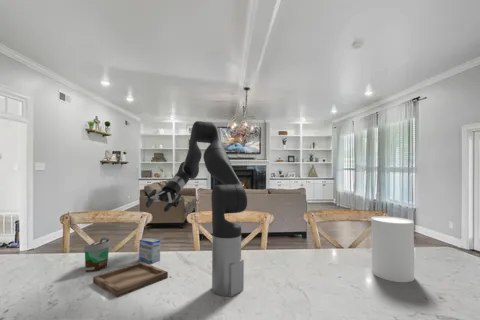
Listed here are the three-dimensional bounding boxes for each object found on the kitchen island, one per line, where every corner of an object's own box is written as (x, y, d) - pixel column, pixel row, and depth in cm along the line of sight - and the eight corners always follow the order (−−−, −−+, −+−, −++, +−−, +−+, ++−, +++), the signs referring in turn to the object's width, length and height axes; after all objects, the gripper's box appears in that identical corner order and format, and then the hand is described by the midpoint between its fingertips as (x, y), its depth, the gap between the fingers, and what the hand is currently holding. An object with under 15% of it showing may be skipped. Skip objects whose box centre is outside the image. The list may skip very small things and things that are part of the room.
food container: (99, 274, 95) (100, 246, 96) (83, 273, 95) (83, 245, 96) (116, 261, 108) (117, 237, 108) (101, 261, 108) (102, 237, 108)
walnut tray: (167, 277, 92) (167, 271, 92) (117, 297, 78) (117, 290, 78) (141, 267, 102) (141, 261, 102) (93, 282, 88) (93, 276, 88)
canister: (371, 277, 94) (370, 220, 94) (372, 265, 106) (371, 215, 106) (416, 285, 88) (415, 224, 88) (412, 271, 100) (411, 218, 100)
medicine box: (138, 260, 109) (138, 239, 109) (146, 257, 113) (147, 237, 113) (152, 264, 105) (152, 242, 106) (160, 260, 109) (160, 239, 110)
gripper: (159, 177, 126) (139, 197, 112) (187, 183, 123) (170, 204, 109) (161, 190, 129) (142, 211, 116) (188, 196, 126) (171, 218, 113)
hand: (155, 208), depth 112 cm, fingers open, 8 cm apart
